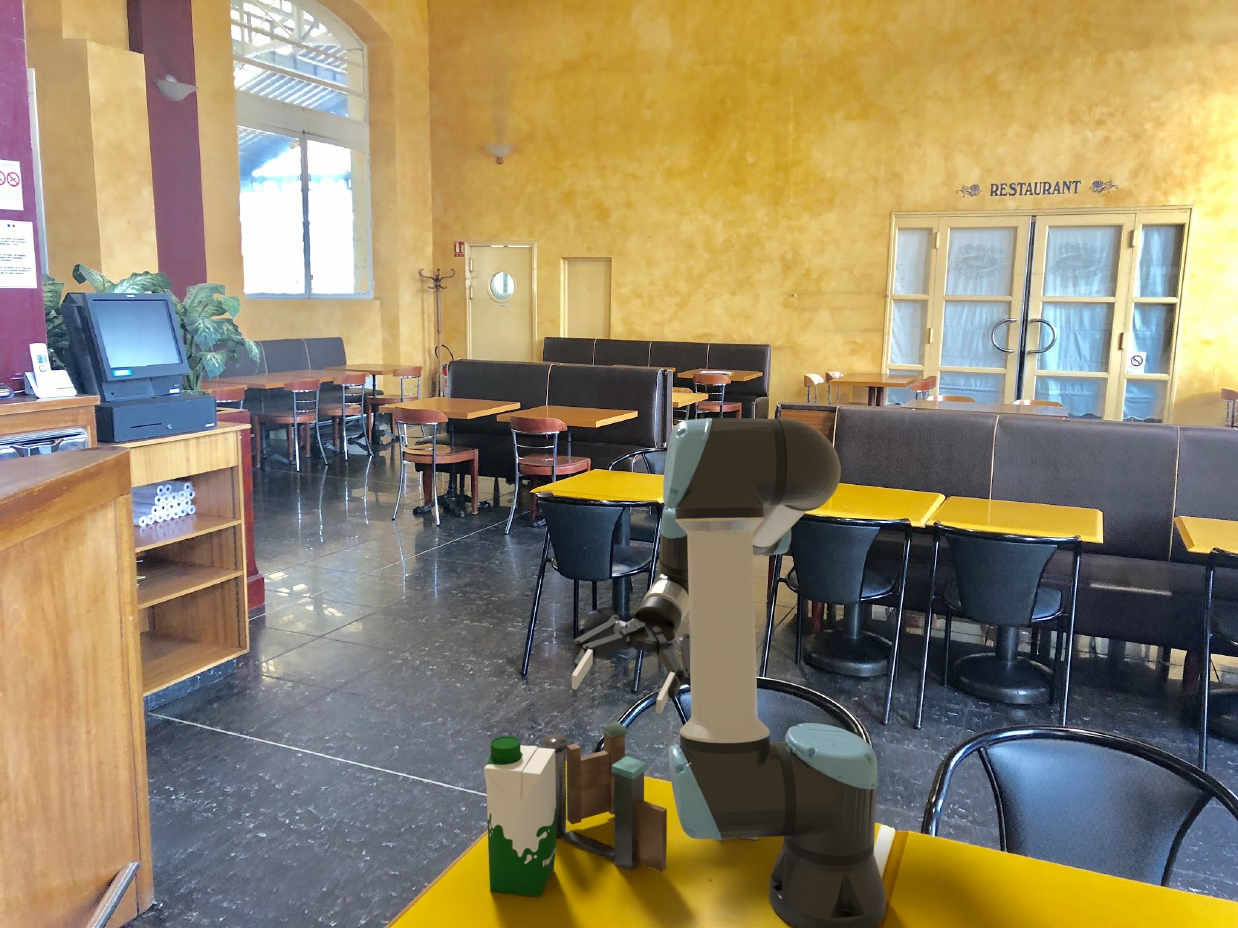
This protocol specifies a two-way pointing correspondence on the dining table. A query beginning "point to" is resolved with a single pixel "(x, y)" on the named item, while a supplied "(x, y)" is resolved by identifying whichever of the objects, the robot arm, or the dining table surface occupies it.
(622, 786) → the gate posts
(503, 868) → the milk carton
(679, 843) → the dining table surface
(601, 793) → the gate
